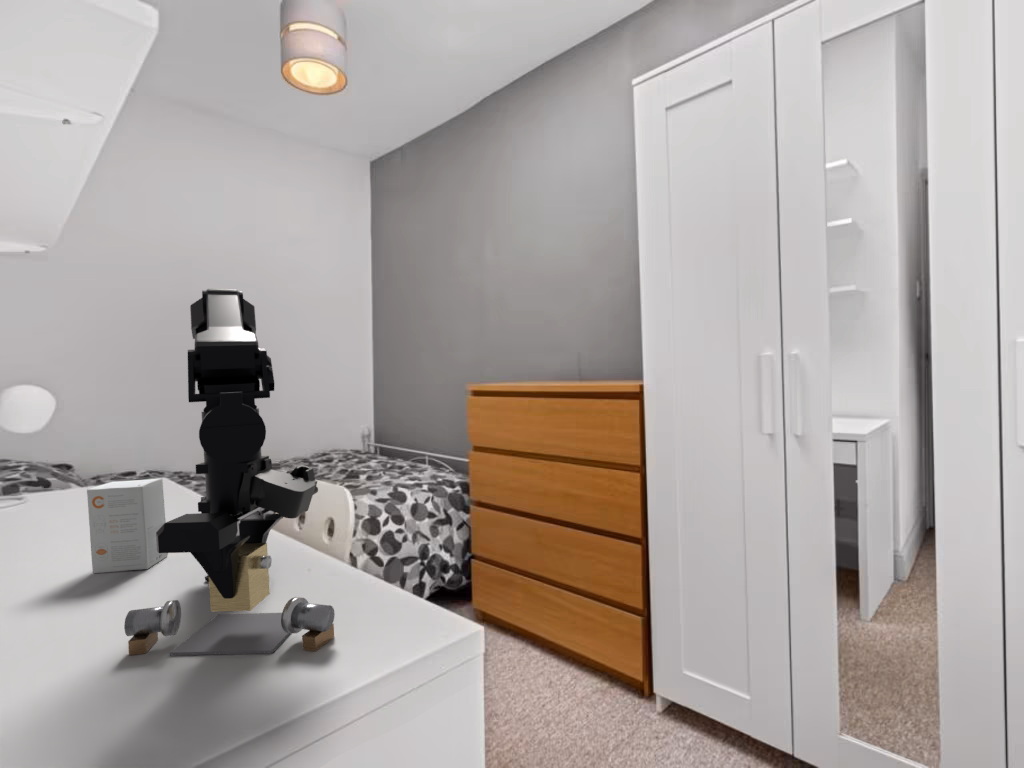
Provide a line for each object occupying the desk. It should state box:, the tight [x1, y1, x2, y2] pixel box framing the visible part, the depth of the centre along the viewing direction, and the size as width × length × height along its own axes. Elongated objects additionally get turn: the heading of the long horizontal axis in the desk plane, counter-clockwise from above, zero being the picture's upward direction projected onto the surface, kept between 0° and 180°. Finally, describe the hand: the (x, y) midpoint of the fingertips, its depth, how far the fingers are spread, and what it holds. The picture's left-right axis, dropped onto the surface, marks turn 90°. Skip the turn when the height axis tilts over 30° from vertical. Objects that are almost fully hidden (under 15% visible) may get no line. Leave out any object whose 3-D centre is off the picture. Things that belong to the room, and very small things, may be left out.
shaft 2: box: [281, 596, 335, 652], centre depth 59 cm, size 4×4×5 cm
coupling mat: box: [169, 612, 291, 656], centre depth 62 cm, size 9×11×1 cm
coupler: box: [208, 542, 273, 612], centre depth 62 cm, size 4×7×6 cm, turn 88°
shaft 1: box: [124, 599, 182, 656], centre depth 60 cm, size 4×4×5 cm
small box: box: [86, 478, 169, 574], centre depth 87 cm, size 8×6×13 cm
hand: (240, 589), depth 62 cm, fingers closed on coupler, 4 cm apart
